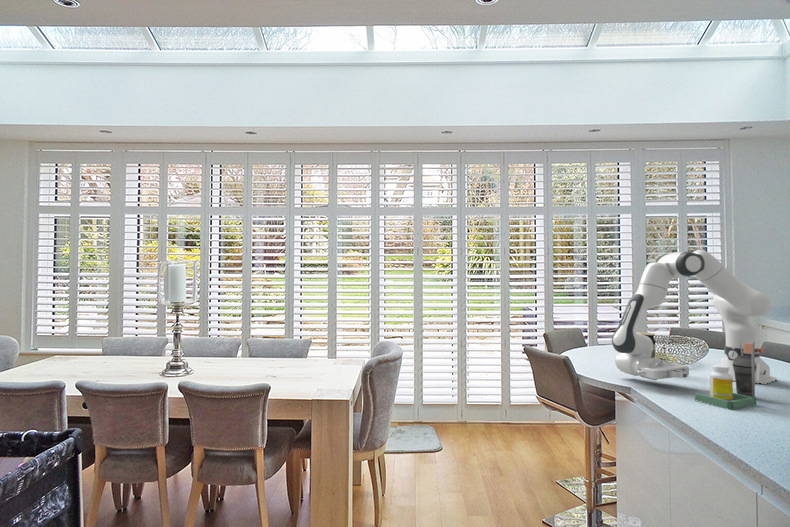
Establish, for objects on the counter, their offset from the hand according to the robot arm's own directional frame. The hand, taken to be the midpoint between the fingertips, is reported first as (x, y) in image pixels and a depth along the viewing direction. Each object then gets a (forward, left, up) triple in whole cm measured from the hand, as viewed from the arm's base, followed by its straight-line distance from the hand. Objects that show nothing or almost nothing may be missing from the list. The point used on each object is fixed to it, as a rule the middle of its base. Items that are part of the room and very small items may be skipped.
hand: (684, 375), depth 179 cm
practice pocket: (0, +14, -7) cm, 16 cm away
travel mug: (-22, -34, -7) cm, 41 cm away
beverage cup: (-16, +12, -7) cm, 21 cm away
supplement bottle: (0, +14, -7) cm, 15 cm away
